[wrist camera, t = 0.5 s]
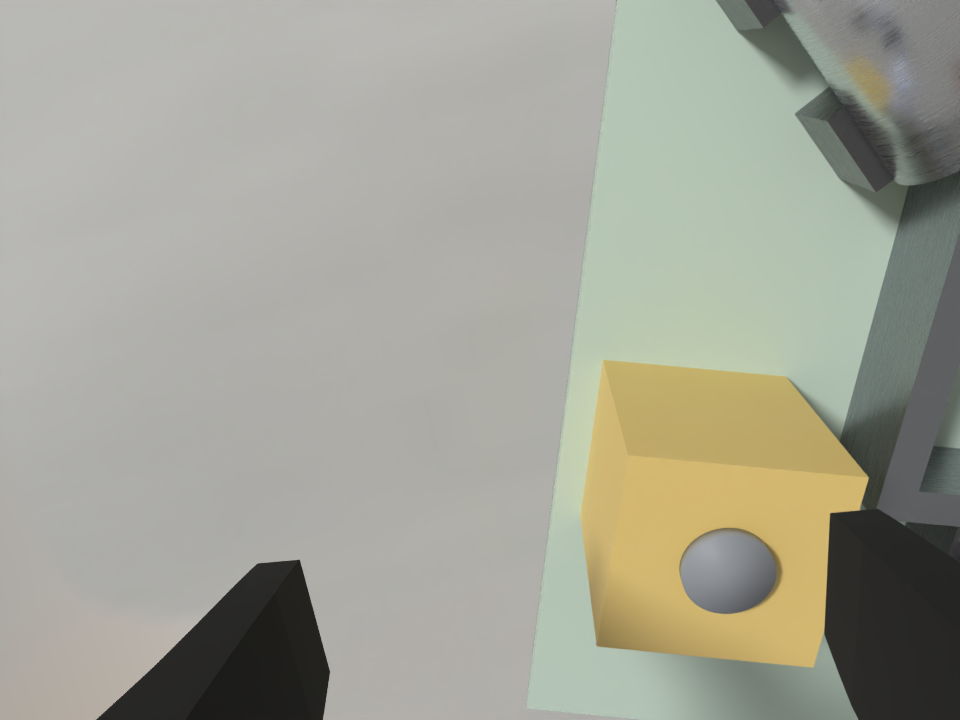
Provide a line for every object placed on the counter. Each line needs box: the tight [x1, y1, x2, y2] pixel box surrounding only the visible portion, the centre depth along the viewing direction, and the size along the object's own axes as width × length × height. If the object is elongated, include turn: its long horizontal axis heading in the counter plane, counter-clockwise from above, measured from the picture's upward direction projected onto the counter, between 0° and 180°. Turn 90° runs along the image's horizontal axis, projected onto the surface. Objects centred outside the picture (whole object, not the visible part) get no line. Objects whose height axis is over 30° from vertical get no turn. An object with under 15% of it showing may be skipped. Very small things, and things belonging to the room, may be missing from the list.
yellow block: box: [580, 360, 869, 668], centre depth 18 cm, size 4×4×5 cm
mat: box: [527, 0, 960, 720], centre depth 20 cm, size 22×16×1 cm
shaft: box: [716, 0, 960, 192], centre depth 15 cm, size 6×4×4 cm, turn 41°
